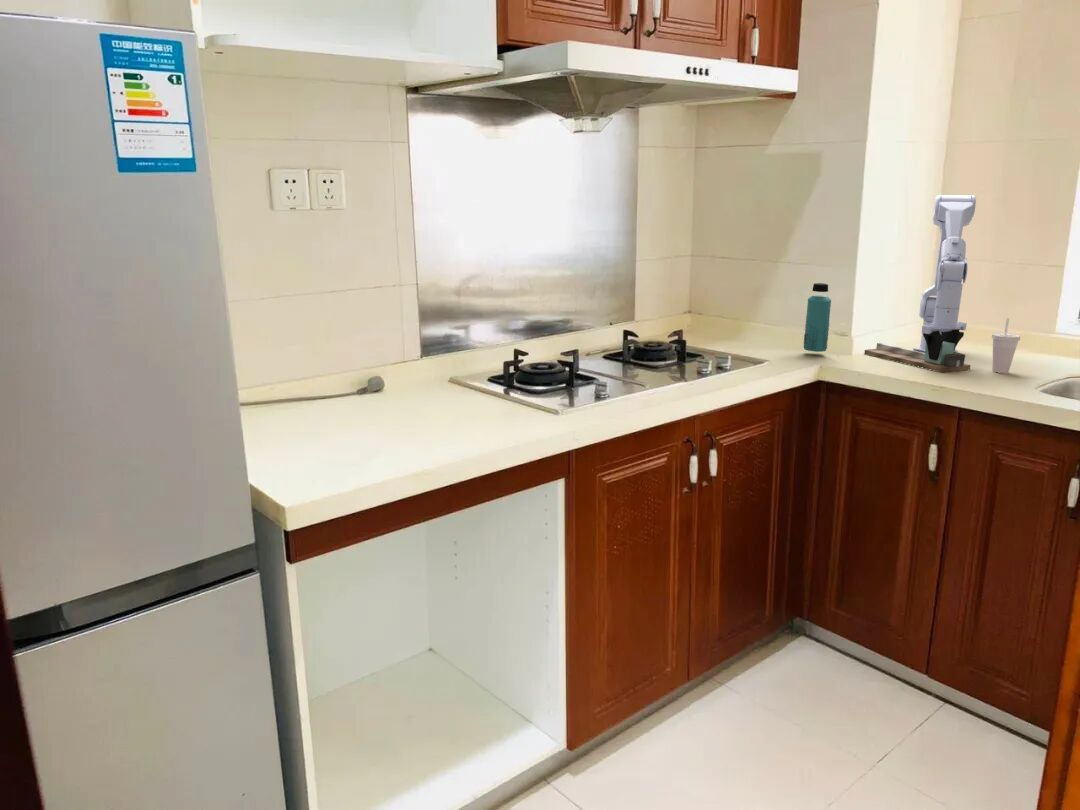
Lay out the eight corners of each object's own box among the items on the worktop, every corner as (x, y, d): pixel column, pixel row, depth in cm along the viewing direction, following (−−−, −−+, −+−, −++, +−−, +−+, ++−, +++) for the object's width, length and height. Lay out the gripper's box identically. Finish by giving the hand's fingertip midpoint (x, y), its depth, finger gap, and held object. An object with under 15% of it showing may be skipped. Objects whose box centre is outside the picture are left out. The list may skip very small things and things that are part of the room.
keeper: (923, 360, 219) (926, 341, 217) (935, 359, 221) (938, 340, 219) (940, 364, 214) (942, 344, 213) (951, 362, 216) (954, 343, 215)
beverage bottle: (831, 356, 229) (839, 284, 224) (811, 357, 227) (818, 285, 222) (817, 351, 235) (824, 281, 230) (797, 353, 233) (803, 282, 228)
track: (864, 354, 233) (866, 339, 232) (889, 351, 237) (891, 336, 236) (943, 373, 210) (946, 356, 209) (970, 369, 215) (972, 353, 214)
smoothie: (981, 371, 213) (990, 317, 209) (993, 368, 217) (1001, 315, 213) (1007, 375, 208) (1016, 321, 205) (1019, 372, 212) (1028, 318, 208)
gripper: (941, 311, 207) (933, 364, 210) (979, 308, 213) (971, 359, 216) (917, 307, 213) (910, 358, 216) (955, 304, 219) (948, 354, 222)
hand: (939, 358), depth 217 cm, fingers closed on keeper, 4 cm apart
